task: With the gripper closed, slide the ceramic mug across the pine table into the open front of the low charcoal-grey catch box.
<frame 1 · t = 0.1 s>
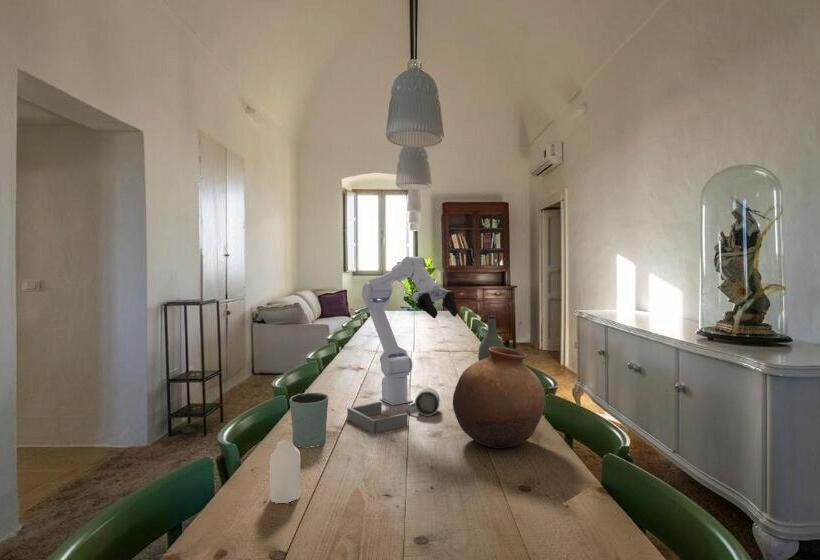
hand: (446, 315, 143), 32 cm above the table, tool tilted 50°, fingers open, 7 cm apart
green tapered cup: (309, 443, 128), on the table
bottle: (492, 406, 161), on the table
ceramic mug: (423, 413, 154), on the table
white shouldered tall container: (285, 498, 97), on the table
pottery: (499, 444, 125), on the table
catch box: (380, 421, 145), on the table
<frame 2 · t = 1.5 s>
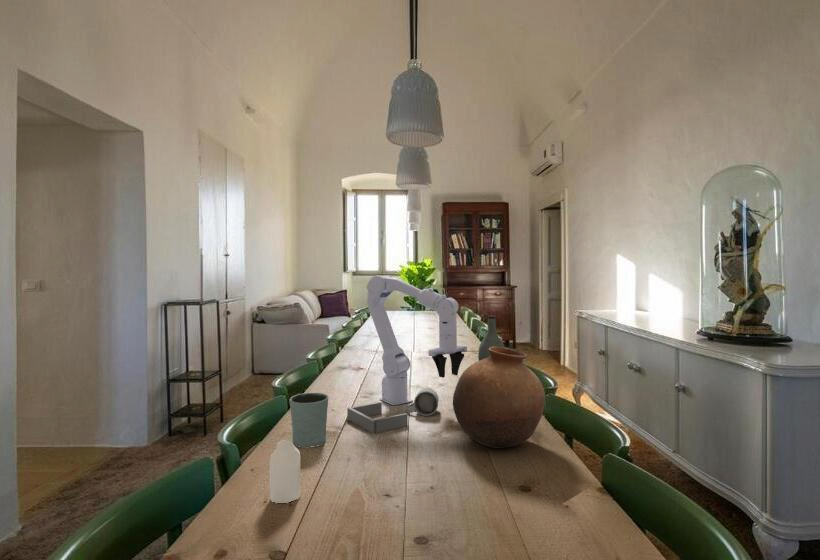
hand: (448, 375, 159), 10 cm above the table, tool pointing down, fingers open, 5 cm apart
nothing on the table moved.
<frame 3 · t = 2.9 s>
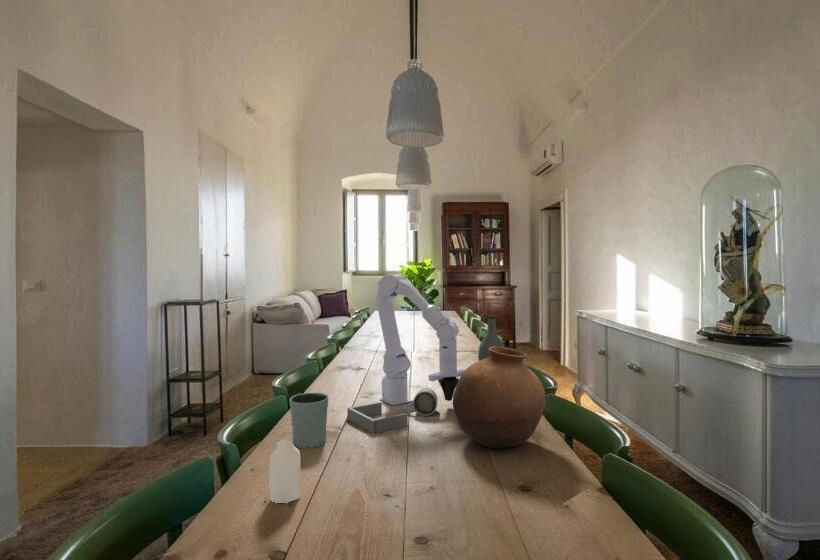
hand: (448, 400, 159), 2 cm above the table, tool pointing down, fingers closed
nothing on the table moved.
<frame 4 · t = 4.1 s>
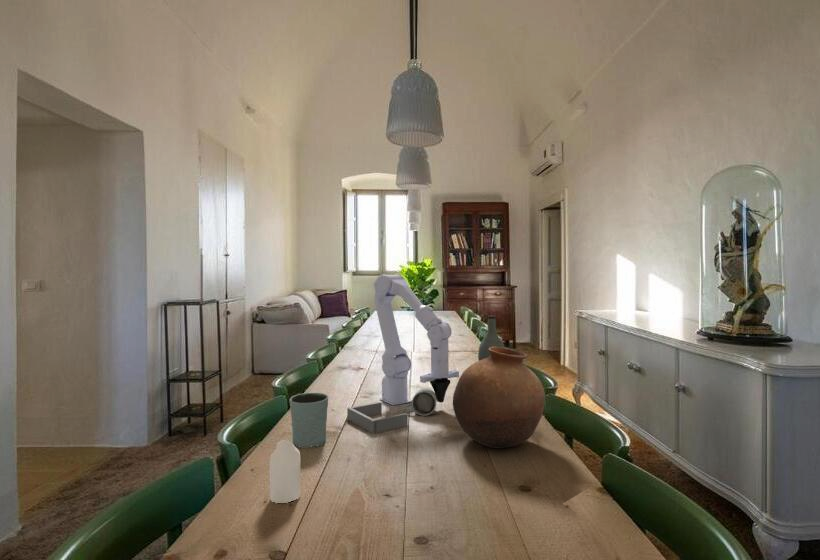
hand: (440, 401, 157), 2 cm above the table, tool pointing down, fingers closed
ceramic mug: (420, 413, 154), on the table, touching gripper
everything else where it was.
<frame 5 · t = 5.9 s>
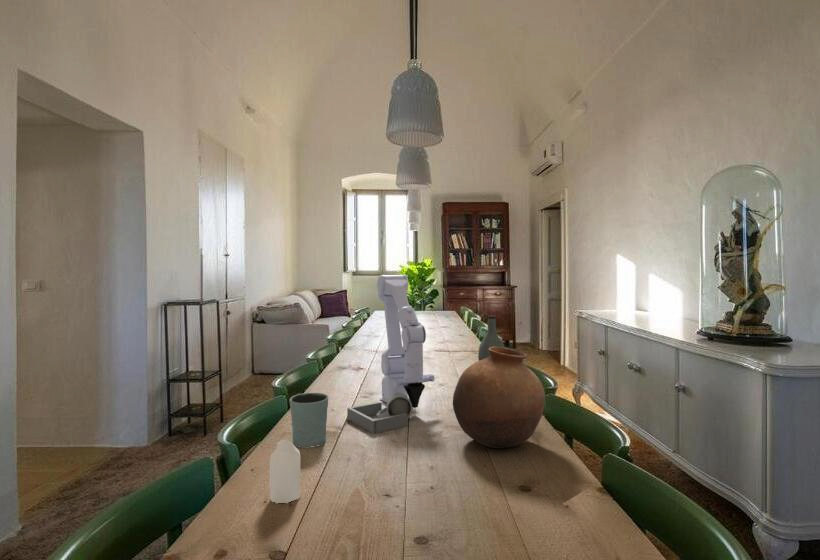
hand: (414, 406, 152), 2 cm above the table, tool pointing down, fingers closed
ceramic mug: (394, 419, 148), on the table, touching gripper
everything else where it was.
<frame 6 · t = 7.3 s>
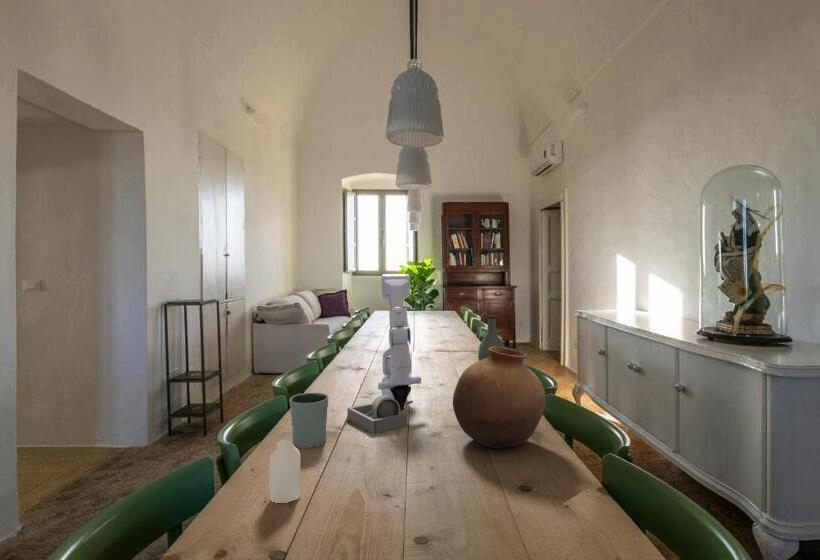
hand: (400, 409, 149), 2 cm above the table, tool pointing down, fingers closed
ceramic mug: (381, 422, 145), on the table, touching gripper
everything else where it was.
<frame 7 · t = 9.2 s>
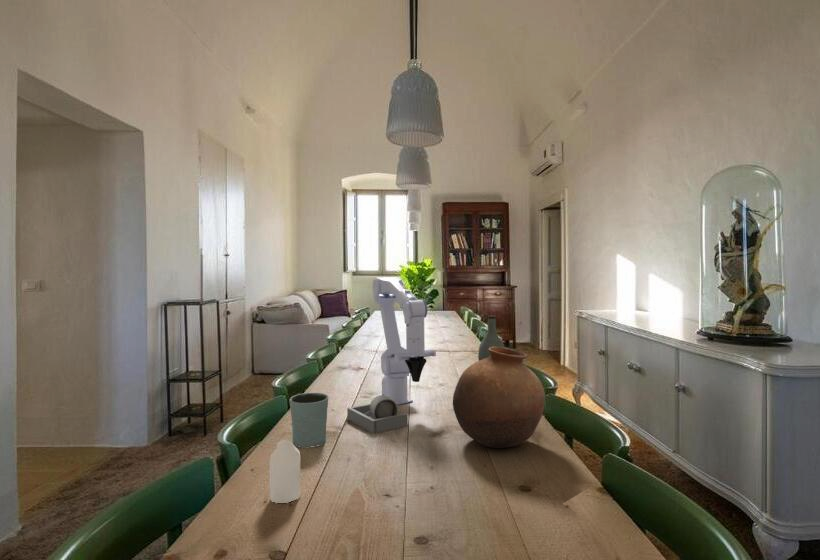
hand: (415, 381, 152), 10 cm above the table, tool pointing down, fingers closed
ceramic mug: (379, 422, 145), on the table
everything else where it was.
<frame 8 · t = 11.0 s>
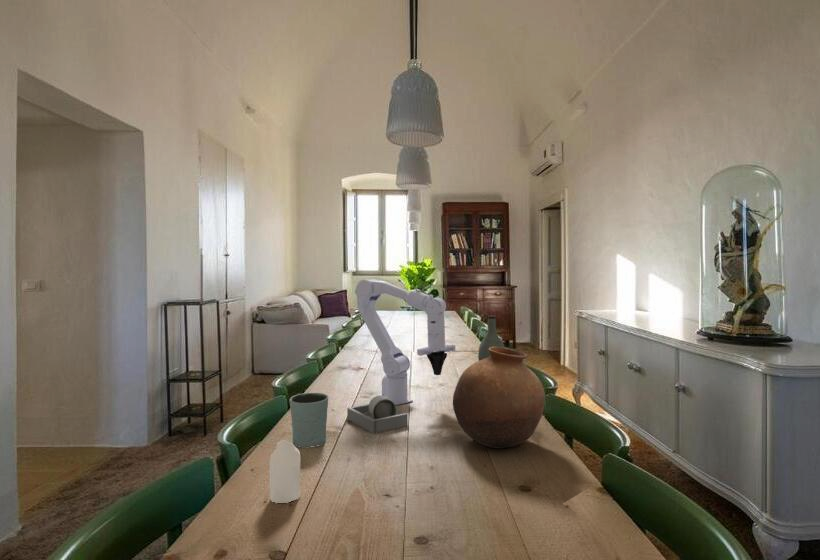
hand: (437, 374, 161), 10 cm above the table, tool pointing down, fingers closed
nothing on the table moved.
at the end: ceramic mug inside the target area (0.8 cm from its centre), on the table; ceramic mug tilted 0°; the gripper is holding nothing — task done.
